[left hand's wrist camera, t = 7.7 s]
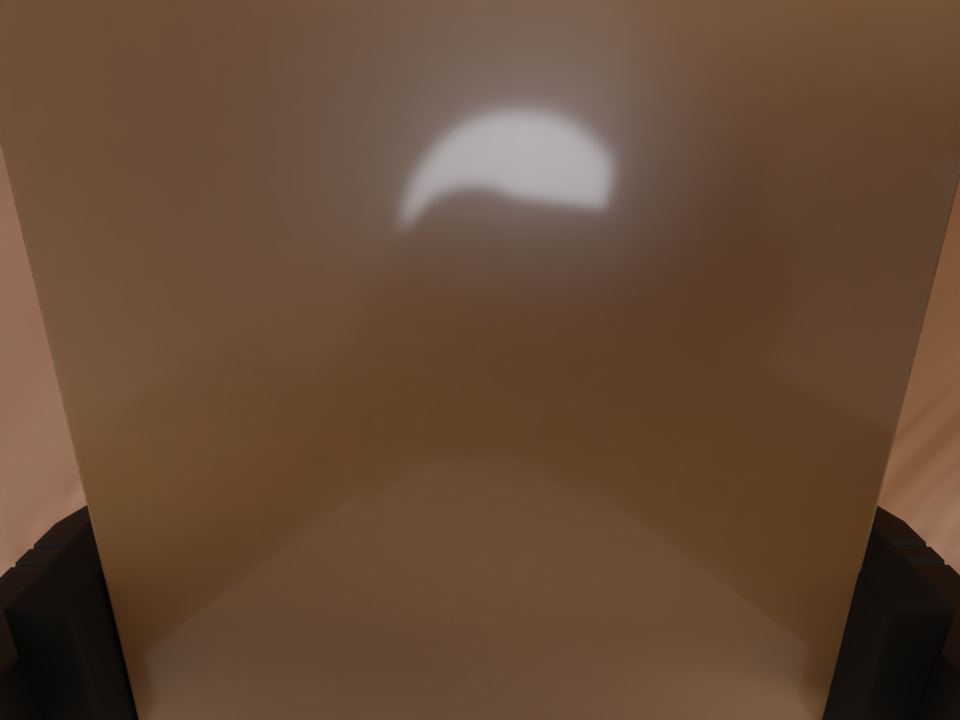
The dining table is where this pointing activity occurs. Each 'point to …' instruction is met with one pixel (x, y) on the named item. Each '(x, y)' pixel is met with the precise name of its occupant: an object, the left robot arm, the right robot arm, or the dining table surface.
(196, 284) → the slab
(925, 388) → the dining table surface
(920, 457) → the dining table surface
